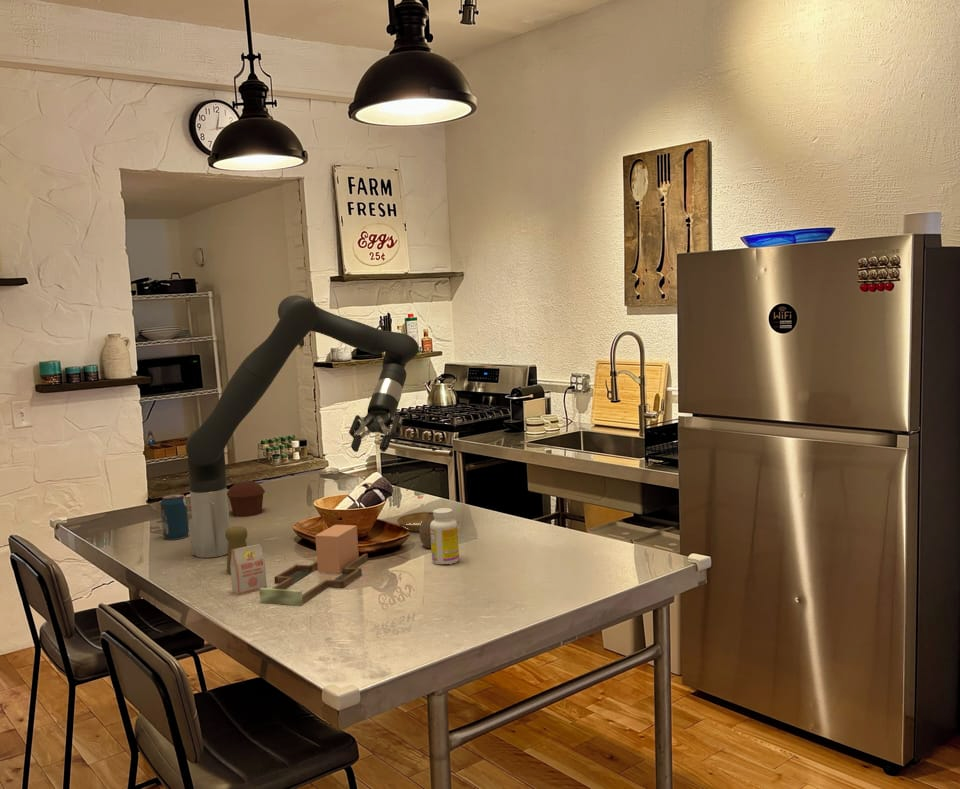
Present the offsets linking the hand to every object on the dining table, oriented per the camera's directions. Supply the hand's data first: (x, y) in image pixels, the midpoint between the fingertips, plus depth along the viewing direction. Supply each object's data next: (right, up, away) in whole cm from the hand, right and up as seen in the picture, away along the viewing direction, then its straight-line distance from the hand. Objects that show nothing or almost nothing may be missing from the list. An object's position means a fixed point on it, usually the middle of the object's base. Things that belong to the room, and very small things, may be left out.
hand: (368, 450), depth 226 cm
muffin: (-44, -23, +45) cm, 67 cm away
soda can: (-57, -26, +20) cm, 66 cm away
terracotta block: (-5, -28, -14) cm, 31 cm away
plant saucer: (+13, -23, +20) cm, 33 cm away
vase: (+17, -25, -1) cm, 30 cm away
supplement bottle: (+21, -27, -14) cm, 37 cm away
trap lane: (-9, -29, -23) cm, 38 cm away
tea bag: (-23, -30, -28) cm, 48 cm away
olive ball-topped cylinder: (-30, -29, -14) cm, 44 cm away
